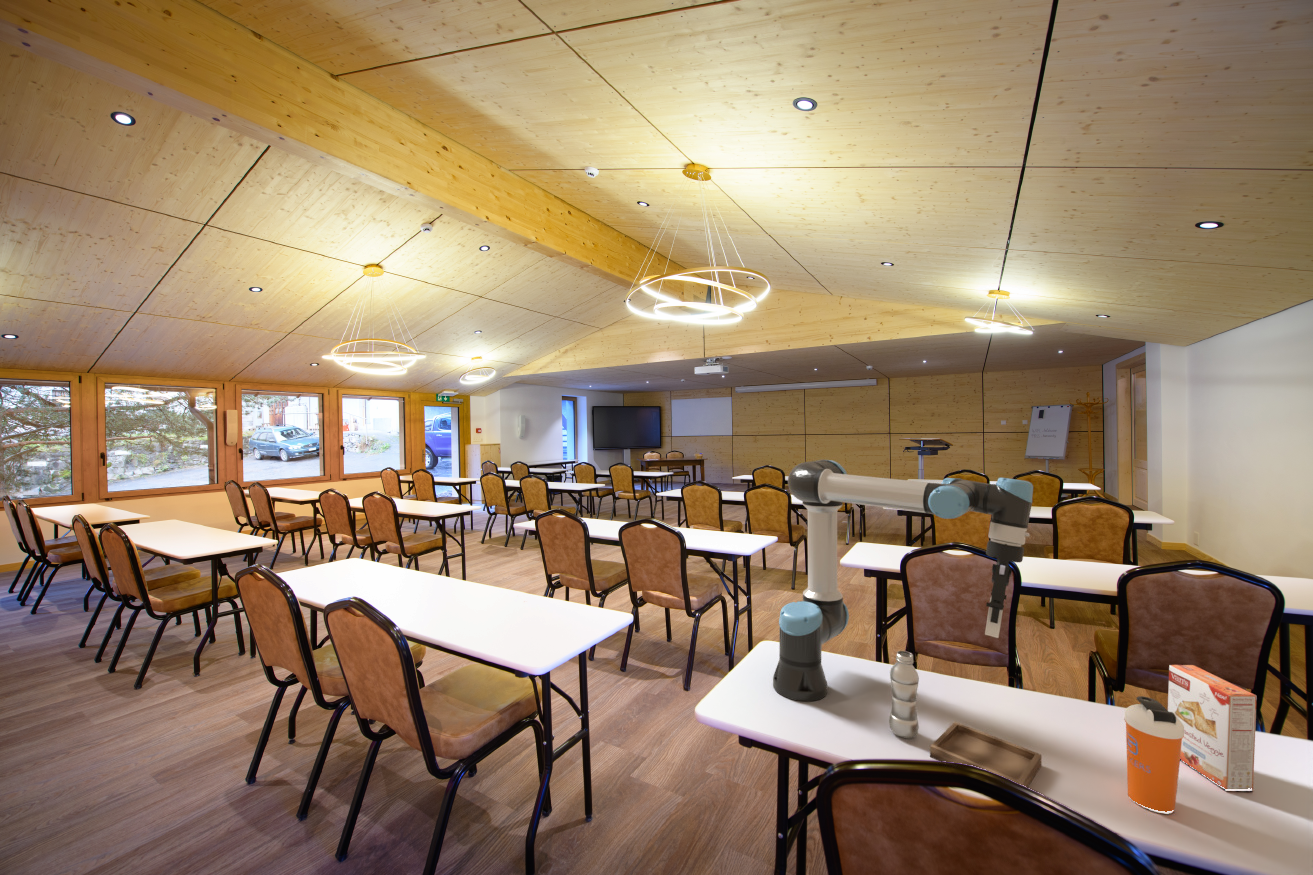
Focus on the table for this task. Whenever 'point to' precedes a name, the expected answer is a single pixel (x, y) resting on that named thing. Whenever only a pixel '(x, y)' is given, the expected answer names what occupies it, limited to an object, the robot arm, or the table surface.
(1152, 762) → the shaker bottle
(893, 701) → the plastic bottle
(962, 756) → the walnut tray
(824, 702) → the table surface
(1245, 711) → the cracker box
